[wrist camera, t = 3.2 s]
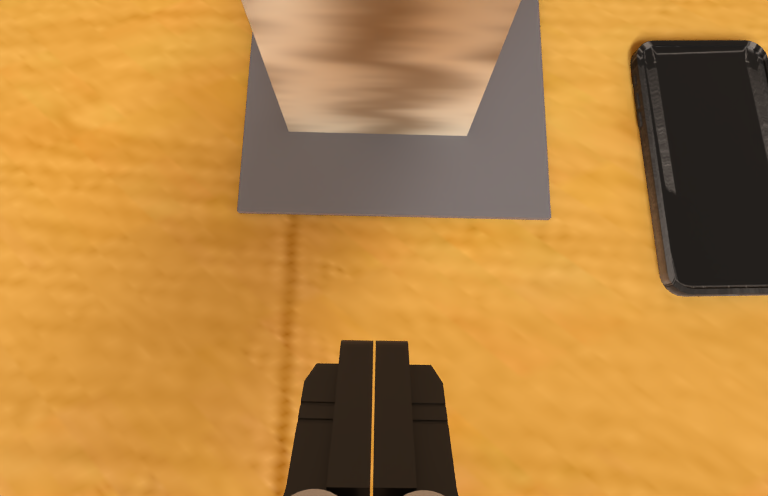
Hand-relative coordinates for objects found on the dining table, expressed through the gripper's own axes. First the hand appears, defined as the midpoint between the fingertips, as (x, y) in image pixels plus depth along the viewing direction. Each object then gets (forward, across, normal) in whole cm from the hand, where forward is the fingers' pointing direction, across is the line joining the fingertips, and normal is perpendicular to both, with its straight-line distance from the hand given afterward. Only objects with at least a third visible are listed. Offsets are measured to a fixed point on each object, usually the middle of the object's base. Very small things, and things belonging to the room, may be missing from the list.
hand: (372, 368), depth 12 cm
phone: (+19, -19, +3) cm, 27 cm away
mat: (+24, -1, -2) cm, 24 cm away
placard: (+20, 0, +1) cm, 20 cm away
